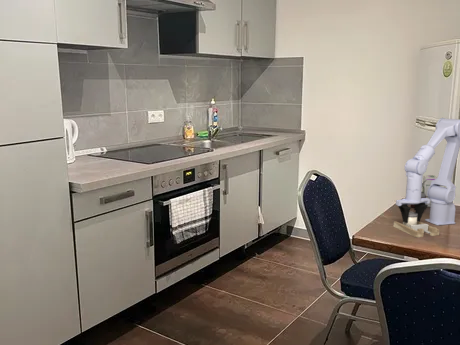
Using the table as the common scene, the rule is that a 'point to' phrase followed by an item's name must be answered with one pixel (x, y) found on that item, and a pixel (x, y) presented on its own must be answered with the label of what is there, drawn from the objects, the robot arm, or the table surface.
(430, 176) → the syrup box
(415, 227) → the pusher
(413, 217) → the jar
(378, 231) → the table surface
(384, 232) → the table surface
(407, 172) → the robot arm
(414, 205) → the mate gourd
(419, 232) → the lane
